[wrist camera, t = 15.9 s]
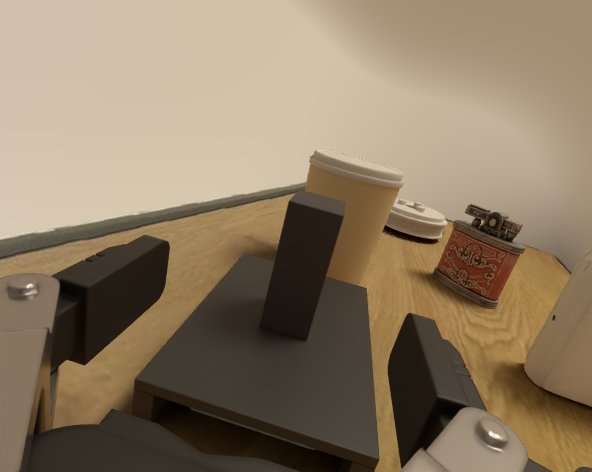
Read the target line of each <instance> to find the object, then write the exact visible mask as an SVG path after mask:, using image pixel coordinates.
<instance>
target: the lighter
mask: <svg viewBox="0 0 592 472" xmlns="http://www.w3.org/2000/svg"><path fill="white" fill-rule="evenodd" d="M490 211H491V210H488V209H486V208H483V207H480V206H478V205H475V204H470V205H468V207H467V209H466V211H465V213H466V214H469V215H471V216H473V217H476V218H475V219H474V220H473V222H472V223H469V222H466V221H462V220H455V222H454V224H453V227H454V228H453V231H452V233H451V236H450V238H449V240H448V243H447V245H446V247H445V250H444V252H443V255H442V257H441V259H440V262H439V264H438V267H436V268H435V270H434V272H433V274H432V275H433V276H434V277H435V278H436V279H438V280H439V281H441V282H442V283H443V284H445V285H446V286H448V287H450V288H451V289H453V290H454V291H456V292H458V293H460V294H461V295H463V296H465V297H466V298H468V299H470V300H472V301H474V302H476V303H478V304H480V305H482V306H484V307H487V308H495V307H496V305H497V304H498V302H499V299H498V297H499V295H500V293H501V291H502V290H503V288H504V286H505V284H506V282H507V280H508V278H509V276H510V274H511V272H512V270H513V268H514V266H515V264H516V262H517V260H518V258H519V256H520V254H523V252H524V250H525V248H526V247H525V246H524V245H522V244H520V243H517V242H515V241H513V239H514V237H516V235H517V234H518V233H519V232H520V230H521V228H522V225H523V224H521V223H518V222H515V221H512V220H510V219H509V218H508V215H507V214H505V213H501V212H493V213H491V212H490ZM481 220H484V223H483V225H481V226H480V224H481ZM506 230H508V231H507V233H506Z"/></svg>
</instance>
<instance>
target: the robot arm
mask: <svg viewBox="0 0 592 472" xmlns="http://www.w3.org/2000/svg"><path fill="white" fill-rule="evenodd" d="M169 250H170V246H169V243H168V241H165V240H162V239H158V238H155V237H151V236H148V235H143V236H141V237H139V238H137V239H135V240H134V241H132V242H130V243H128V244H123V245H118V246H113V247H109V248H107V249H105V250H103V251H101V252H98V253H96V255H92V256H90V257H88V258H86V259H85V261H84V260H82V261H80V262H78V263H76V264H74V265H72V266H70V267H68V268H66V269H64V270H62V271H60V272H58V273H56V274H54V275H52V276H48V275H44V274H37V273H22V274H15V275H9V276H6V277H2V278H0V472H300V471H297V470H294V469H291V468H288V467H285V466H282V465H279V464H276V463H273V462H270V461H267V460H264V459H261V458H253V457H239V456H225V455H212V454H205V453H202V452H200V451H198V450H196V449H195V448H193V447H192V446H191V445H189V444H188V443H186V442H185V441H183V440H182V439H180V438H179V437H177V436H176V435H174V434H173V433H171V432H170V431H168V430H167V429H165V428H164V427H162V426H161V425H159V424H157V423H154V422H151V421H148V420H145V419H142V418H139V417H136V416H133V415H130V414H127V413H124V412H121V411H118V410H115V409H111V411H110V412H109V413H108V414H107V415H106V416H105V418H104V419H103V420H102V421H101V422H100V423H99V425H97V424H87V425H73V426H65V427H60V428H56V429H52V428H53V420H54V412H55V405H56V397H57V389H58V382H59V366H60V365H61V364H62V363H63V362H64V361H66V360H70V361H73V362H76V363H79V364H82V365H86V364H87V363H88V362H89V361H90V360H92V359H93V358H94V357H95V356H96V355H97V354H98V353H99V352H101V351H102V350H103V349H104V348H105V347H106V346H107V345H108V344H110V343H111V342H112V341H113V340H114V339H115V338H116V337H117V336H118V335H120V334H121V333H122V332H123V331H124V330H125V329H126V328H127V327H129V326H130V325H131V324H132V323H133V322H134V321H135V320H136V319H138V318H139V317H140V316H141V315H142V314H143V313H144V312H145V311H147V310H148V309H149V308H150V307H151V306H152V305H153V304H154V303H156V302H157V301H158V299H159V298H160V296H161V295H162V293H163V290H164V287H165V283H166V275H167V267H168V259H169ZM388 378H389V385H390V392H391V399H392V406H393V413H394V420H395V427H396V434H397V441H398V448H399V455H400V462H401V471H400V472H552V471H551V470H549V469H547V468H545V467H543V466H541V465H540V464H538V463H536V462H534V461H533V460H531V459H529V458H528V452H527V449H526V447H525V445H524V443H523V442H522V440H521V439H520V437H519V436H518V435H517V434H516V433H515V432H514V431H513V429H512V428H510V427H509V426H508V425H507V424H506V423H505V422H503V421H502V420H501V419H499V418H497V417H496V416H494V415H492V414H491V413H489V412H487V409H486V407H485V405H484V403H483V401H482V399H481V397H480V395H479V392H478V390H477V388H476V386H475V384H474V382H473V380H472V379H471V376H470V373H469V371H468V369H467V368H466V365H465V363H464V361H463V359H462V356H461V354H460V353H459V352H458V351H457V349H456V348H455V347H454V346H453V345H452V344H451V343H450V342H449V341H448V340H445V339H442V337H441V334H440V332H439V330H438V327H437V325H436V323H435V321H434V320H433V319H429V318H426V317H422V316H419V315H416V314H412V313H409V314H407V316H406V317H405V320H404V322H403V324H402V327H401V329H400V332H399V334H398V337H397V339H396V342H395V344H394V346H393V349H392V351H391V354H390V358H389V362H388ZM575 472H592V468H588V467H580V468H578V469H577V470H576V471H575Z"/></svg>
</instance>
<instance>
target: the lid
mask: <svg viewBox="0 0 592 472" xmlns="http://www.w3.org/2000/svg"><path fill="white" fill-rule="evenodd" d="M385 225H386V226H388V227H390V228H393V229H395V230H398V231H400V232H403V233H406V234H410V235H413V236H417V237H422V238H428V239H440V238H442V231H443V228H444V226H446V225H447V221H446V220H445V219H444V216H443V215H442V214H440V213H439V212H437V211H435V210H433V209H431V208H428V207H425V206H423V205H422V204H421V203H418V202H415V203H414V202H410V201H406V200H402V199H397V198H396V200H395V202H394V205H393V207H392V210H391V212H390V214H389V217H388V219H387V221H386V224H385Z"/></svg>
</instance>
